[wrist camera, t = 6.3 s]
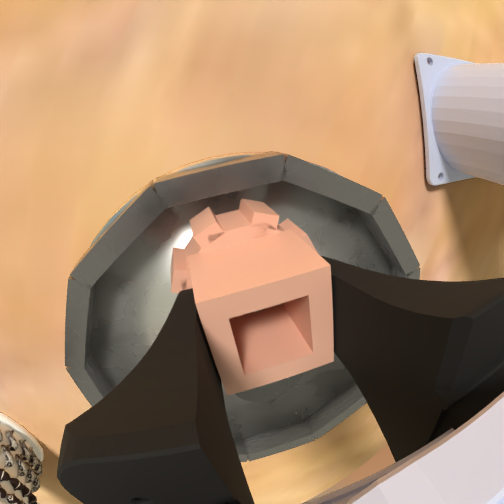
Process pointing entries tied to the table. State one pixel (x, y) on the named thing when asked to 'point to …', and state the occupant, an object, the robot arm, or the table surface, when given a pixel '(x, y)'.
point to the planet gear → (257, 295)
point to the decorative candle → (18, 463)
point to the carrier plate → (280, 392)
